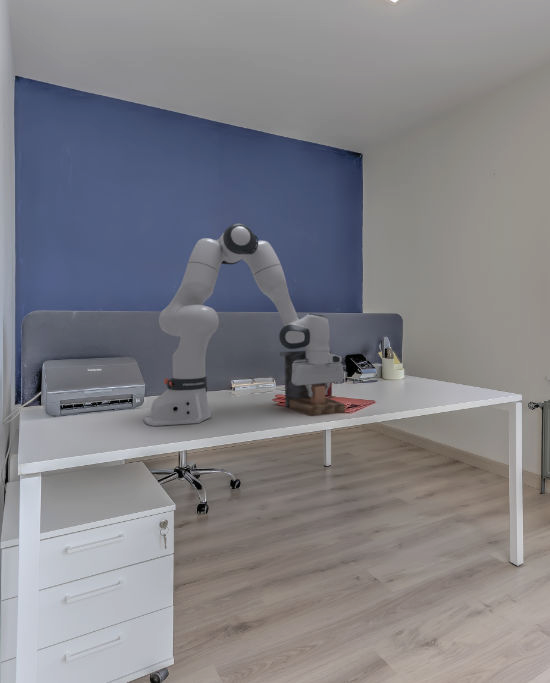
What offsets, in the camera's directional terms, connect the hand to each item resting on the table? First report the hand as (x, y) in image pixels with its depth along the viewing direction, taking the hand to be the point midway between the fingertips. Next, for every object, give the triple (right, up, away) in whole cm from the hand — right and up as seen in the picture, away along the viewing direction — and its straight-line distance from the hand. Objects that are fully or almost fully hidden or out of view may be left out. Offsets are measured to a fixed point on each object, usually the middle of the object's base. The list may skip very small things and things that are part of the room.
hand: (317, 395), depth 170 cm
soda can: (+5, -4, +26) cm, 27 cm away
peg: (0, -3, 0) cm, 3 cm away
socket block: (-1, -5, +2) cm, 6 cm away
